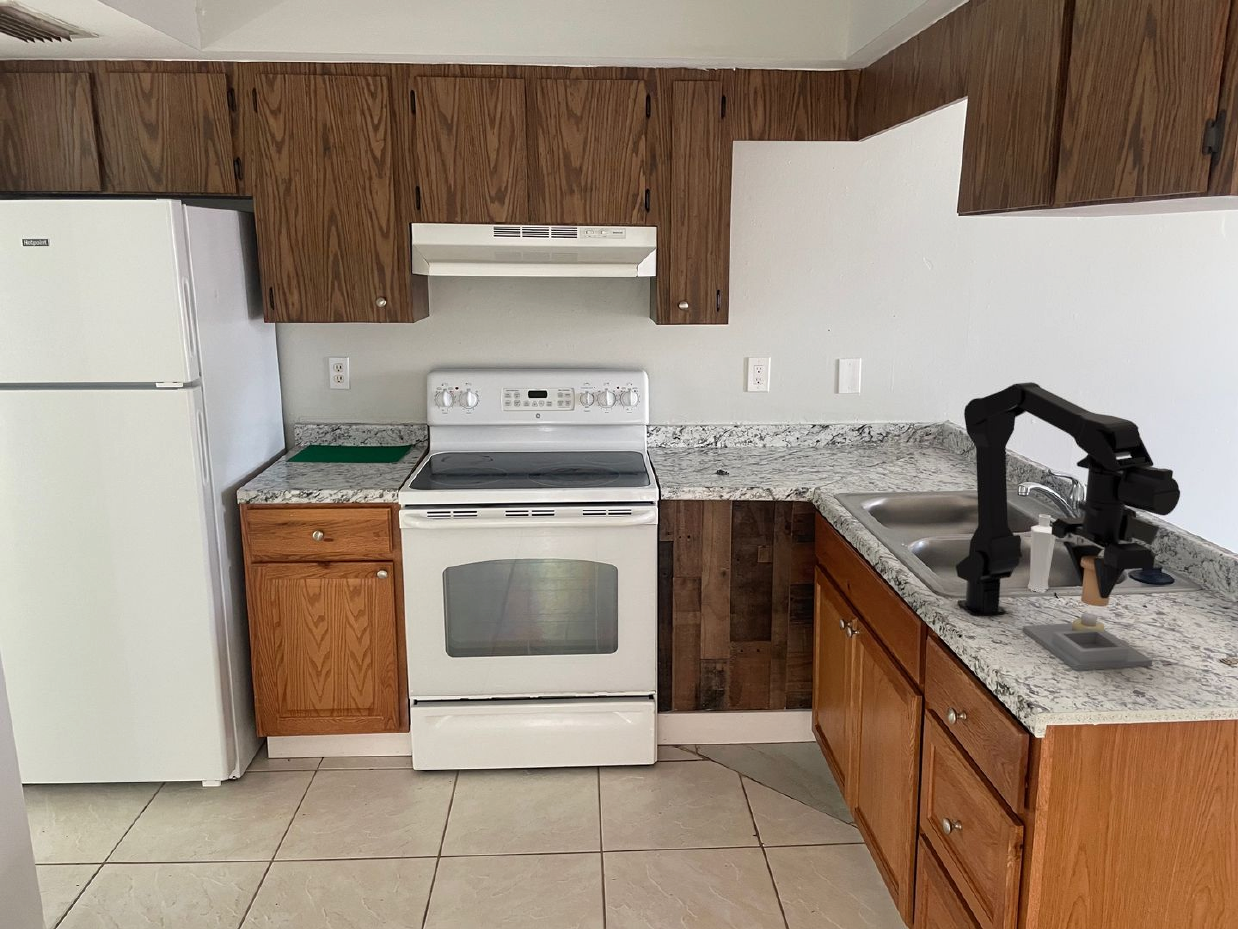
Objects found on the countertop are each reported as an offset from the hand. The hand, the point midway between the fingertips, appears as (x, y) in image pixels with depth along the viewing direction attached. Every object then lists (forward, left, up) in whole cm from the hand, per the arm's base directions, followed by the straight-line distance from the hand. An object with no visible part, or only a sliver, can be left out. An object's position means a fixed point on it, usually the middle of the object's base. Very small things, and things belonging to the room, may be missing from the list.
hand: (1095, 592), depth 154 cm
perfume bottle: (-30, +9, -11) cm, 34 cm away
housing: (-3, +2, -11) cm, 12 cm away
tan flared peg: (0, 0, -2) cm, 2 cm away
